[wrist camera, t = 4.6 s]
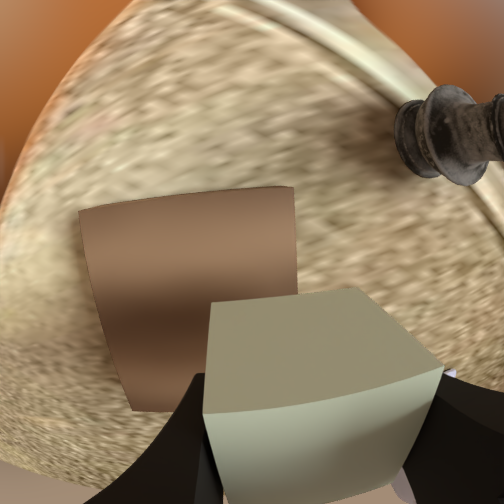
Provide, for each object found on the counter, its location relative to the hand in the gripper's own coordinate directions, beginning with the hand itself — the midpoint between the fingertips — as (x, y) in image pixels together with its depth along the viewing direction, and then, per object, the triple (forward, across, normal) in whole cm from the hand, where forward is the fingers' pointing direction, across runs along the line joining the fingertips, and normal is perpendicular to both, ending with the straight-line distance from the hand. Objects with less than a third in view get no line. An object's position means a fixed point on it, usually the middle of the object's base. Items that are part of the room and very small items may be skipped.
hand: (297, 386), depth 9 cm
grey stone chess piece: (+9, -11, -9) cm, 17 cm away
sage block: (+2, 0, 0) cm, 2 cm away
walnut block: (+8, +4, 0) cm, 9 cm away
